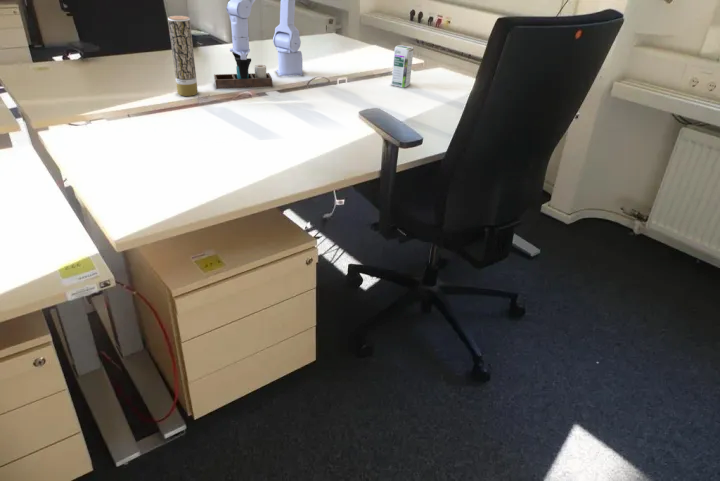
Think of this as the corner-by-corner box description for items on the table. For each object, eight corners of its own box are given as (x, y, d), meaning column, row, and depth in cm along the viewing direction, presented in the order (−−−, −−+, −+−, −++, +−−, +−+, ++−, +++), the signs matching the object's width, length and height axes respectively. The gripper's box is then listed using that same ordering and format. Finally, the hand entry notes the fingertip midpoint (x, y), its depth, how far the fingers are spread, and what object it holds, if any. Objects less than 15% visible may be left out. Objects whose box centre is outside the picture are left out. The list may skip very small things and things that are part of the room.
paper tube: (192, 97, 184) (183, 20, 171) (174, 95, 185) (163, 18, 172) (201, 92, 190) (193, 16, 176) (183, 90, 191) (174, 14, 177)
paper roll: (248, 82, 200) (247, 65, 197) (249, 86, 197) (248, 68, 194) (236, 83, 199) (235, 65, 196) (238, 86, 196) (236, 68, 192)
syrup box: (390, 85, 209) (394, 46, 201) (397, 82, 213) (400, 44, 206) (404, 88, 207) (408, 49, 199) (410, 84, 211) (414, 46, 204)
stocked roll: (265, 82, 202) (265, 64, 199) (267, 85, 199) (266, 67, 195) (254, 82, 201) (253, 64, 198) (256, 85, 198) (255, 67, 194)
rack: (269, 82, 204) (268, 72, 202) (272, 87, 198) (272, 78, 197) (214, 84, 199) (213, 74, 197) (216, 89, 193) (215, 80, 191)
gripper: (226, 31, 194) (229, 69, 201) (230, 41, 182) (233, 81, 190) (246, 31, 196) (248, 69, 203) (251, 40, 184) (253, 80, 191)
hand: (242, 75), depth 196 cm, fingers open, 7 cm apart
